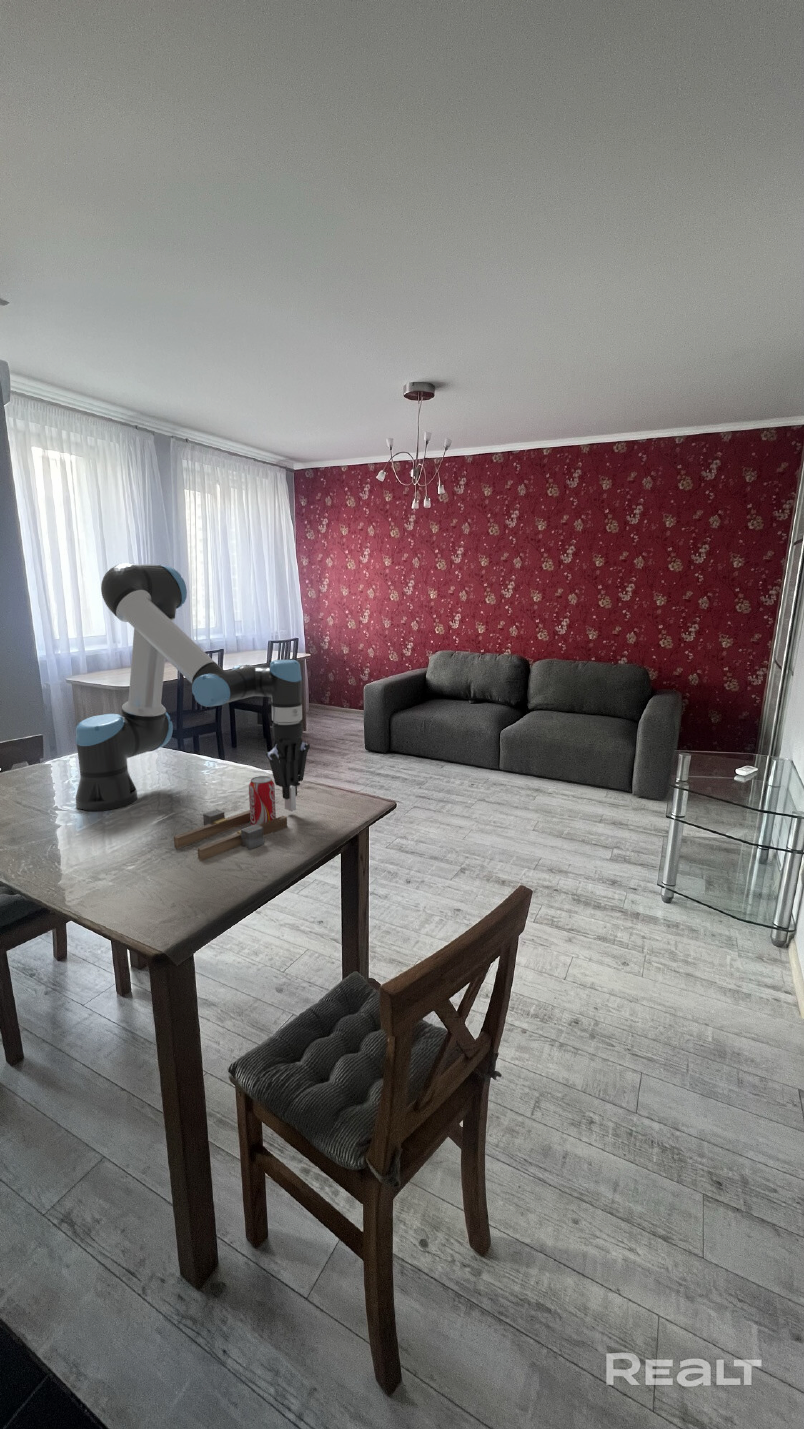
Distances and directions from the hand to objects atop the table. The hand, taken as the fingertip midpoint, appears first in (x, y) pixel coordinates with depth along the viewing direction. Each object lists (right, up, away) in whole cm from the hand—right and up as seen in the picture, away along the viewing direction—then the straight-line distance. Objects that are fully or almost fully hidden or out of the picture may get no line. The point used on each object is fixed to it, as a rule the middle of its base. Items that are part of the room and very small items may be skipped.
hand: (290, 809), depth 154 cm
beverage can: (-6, -3, -6) cm, 9 cm away
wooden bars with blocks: (-11, -4, -13) cm, 18 cm away
